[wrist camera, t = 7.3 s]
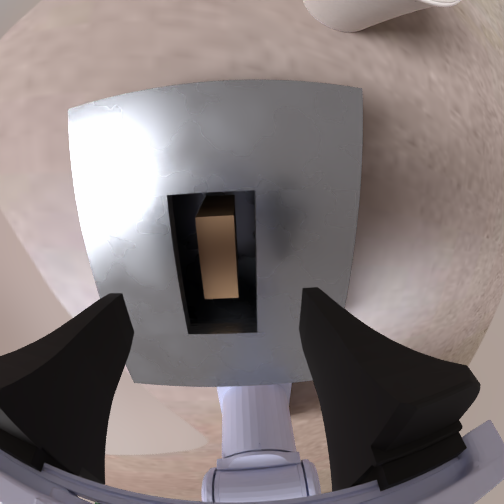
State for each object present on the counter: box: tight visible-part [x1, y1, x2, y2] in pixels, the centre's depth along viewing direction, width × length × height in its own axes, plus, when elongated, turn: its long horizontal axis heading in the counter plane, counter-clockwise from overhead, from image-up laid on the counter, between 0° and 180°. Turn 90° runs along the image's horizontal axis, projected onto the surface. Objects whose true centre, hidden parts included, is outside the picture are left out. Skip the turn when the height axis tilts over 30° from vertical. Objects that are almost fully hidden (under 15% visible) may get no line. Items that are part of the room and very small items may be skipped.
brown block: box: [195, 195, 238, 299], centre depth 17 cm, size 5×2×5 cm, turn 1°
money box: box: [68, 80, 363, 387], centre depth 17 cm, size 18×14×7 cm
